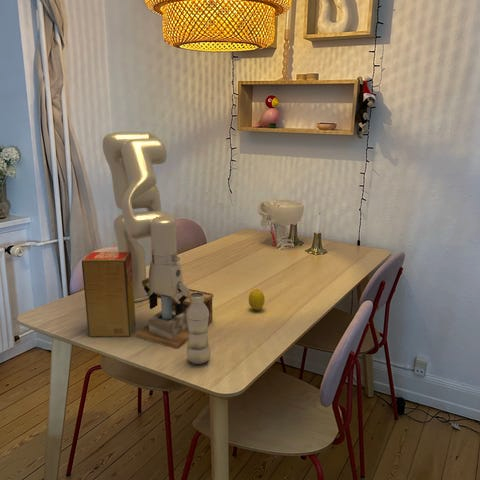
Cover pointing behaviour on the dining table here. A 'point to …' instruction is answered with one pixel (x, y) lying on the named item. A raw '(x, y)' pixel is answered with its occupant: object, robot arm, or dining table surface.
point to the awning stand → (172, 324)
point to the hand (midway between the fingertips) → (166, 310)
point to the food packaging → (109, 293)
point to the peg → (166, 307)
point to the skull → (280, 218)
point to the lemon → (256, 299)
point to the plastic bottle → (197, 329)
